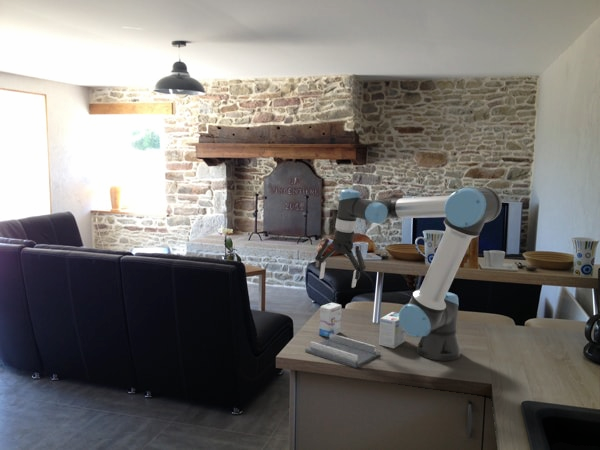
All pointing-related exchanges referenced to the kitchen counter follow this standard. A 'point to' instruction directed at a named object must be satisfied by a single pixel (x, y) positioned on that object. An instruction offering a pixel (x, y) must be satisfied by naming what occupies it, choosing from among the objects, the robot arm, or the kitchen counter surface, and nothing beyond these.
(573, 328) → the kitchen counter surface
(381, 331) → the light bulb box
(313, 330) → the kitchen counter surface
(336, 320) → the ink box
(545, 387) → the kitchen counter surface
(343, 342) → the rail board
